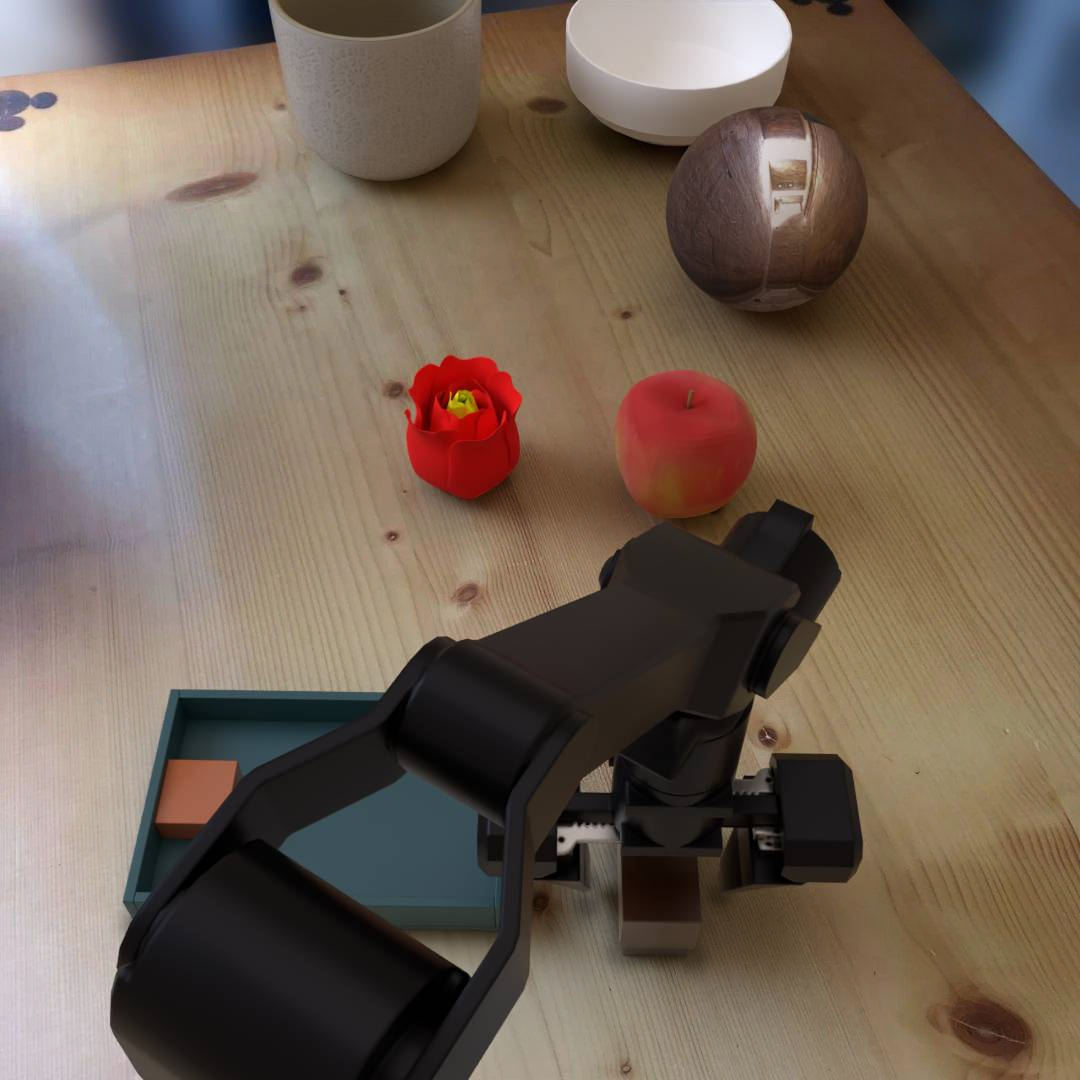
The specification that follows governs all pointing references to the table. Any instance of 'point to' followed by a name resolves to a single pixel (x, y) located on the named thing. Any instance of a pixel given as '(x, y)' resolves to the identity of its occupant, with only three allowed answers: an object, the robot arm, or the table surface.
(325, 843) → the tray
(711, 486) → the apple
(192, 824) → the clay crumb
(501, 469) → the flower
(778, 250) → the wooden sphere
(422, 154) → the planter
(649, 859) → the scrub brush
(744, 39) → the bowl
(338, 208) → the table surface
